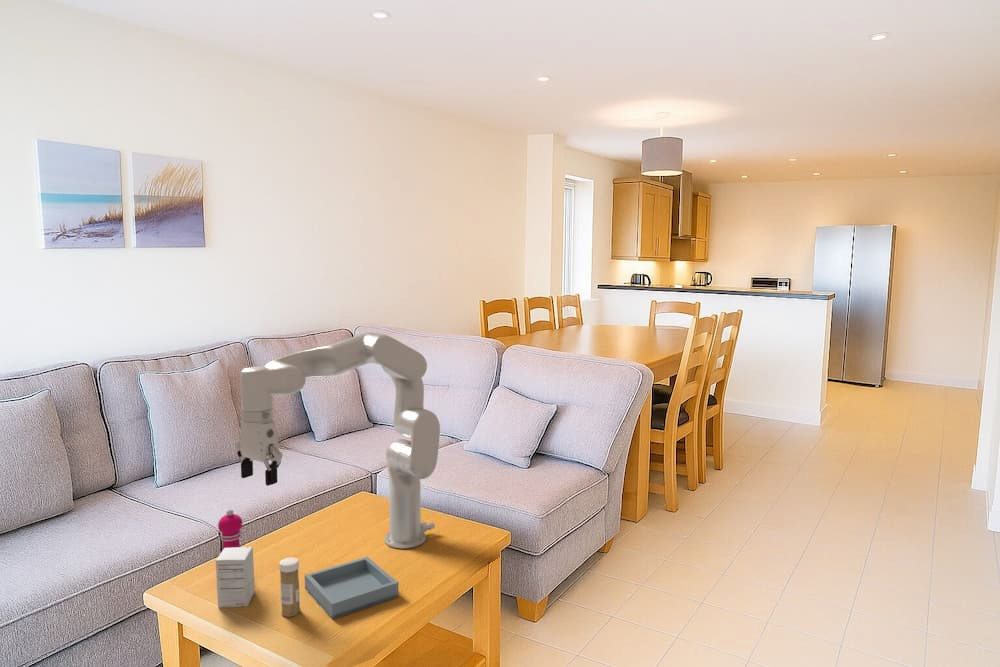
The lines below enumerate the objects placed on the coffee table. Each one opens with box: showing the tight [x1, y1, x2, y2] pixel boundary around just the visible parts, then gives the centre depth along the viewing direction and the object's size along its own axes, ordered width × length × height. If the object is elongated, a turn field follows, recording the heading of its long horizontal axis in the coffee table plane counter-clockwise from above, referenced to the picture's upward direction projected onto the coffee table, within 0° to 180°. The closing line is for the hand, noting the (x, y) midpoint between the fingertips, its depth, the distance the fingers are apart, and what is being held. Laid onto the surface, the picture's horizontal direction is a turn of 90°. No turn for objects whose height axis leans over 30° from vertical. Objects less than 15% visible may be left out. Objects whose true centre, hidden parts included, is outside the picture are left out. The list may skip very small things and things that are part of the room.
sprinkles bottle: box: [278, 557, 301, 618], centre depth 163 cm, size 5×5×13 cm
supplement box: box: [215, 546, 256, 608], centre depth 169 cm, size 7×7×13 cm
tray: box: [304, 556, 399, 620], centre depth 174 cm, size 18×18×4 cm
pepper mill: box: [217, 508, 243, 552], centre depth 179 cm, size 7×7×20 cm
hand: (259, 480), depth 172 cm, fingers open, 9 cm apart
